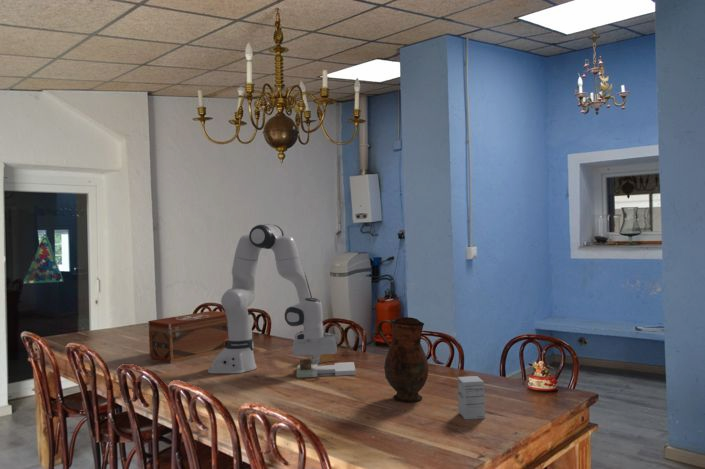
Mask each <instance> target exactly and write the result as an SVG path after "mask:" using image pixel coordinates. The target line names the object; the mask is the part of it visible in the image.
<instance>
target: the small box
mask: <svg viewBox="0 0 705 469" xmlns="http://www.w3.org/2000/svg"><path fill="white" fill-rule="evenodd" d="M329 336H330V335H329ZM317 358H318V357H317V355H313V360H317ZM334 360H335V358H334V354H320V358H319V360H318V364H323V363H328V362H334Z"/></svg>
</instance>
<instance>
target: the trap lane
mask: <svg viewBox="0 0 705 469" xmlns="http://www.w3.org/2000/svg"><path fill="white" fill-rule="evenodd" d="M356 371H357V370H356V367H355V362H354V361H349V362H334V364H329V365H328V364H327V365H318V364H317V365H312V363H311V370H300V364H297V369H296V378H297V379H298V378H299V379H300V378H317V377H319V378H320V377H322V378H323V377H335V376H336V377H340V376H356V375H357V373H356Z"/></svg>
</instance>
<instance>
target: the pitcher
mask: <svg viewBox="0 0 705 469" xmlns="http://www.w3.org/2000/svg"><path fill="white" fill-rule="evenodd" d="M385 323H389V324H390V327H391V341H390V340H389V339H388V338H387V337H386V336H385V334H384V332H383V326H384V324H385ZM424 326H425V322H422V321H420V320H419V319H417V318H415V317H405V316H403V317H397V318H393V319H385V320H382V321H381V322H379V323H378V326H377V333H378V334H379V336H380V337H381V339H382V340H383V341H384V343H385V344H386V346H387V347H388V351H387V354H386V357H385V362H384V366H383V368H384V369H383V371H384V375H385V379H386V380H387V382H388V384H389V386H391V388H392V389H393V390H394V391H395V392H396V393H395V394H394V395H393V400H395V401H397V402H401V403H417V402H420V401H422V400H423V397H422V395H420V394H419V392H420V391H421V390H422V388H423V387H425V384H426V382H427V379H428V377H429V362H428V358H427V356H426V353H425V350H424V348H423V345H422V343H421V340H422V339H421V338H422V332H423V329H424Z"/></svg>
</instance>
